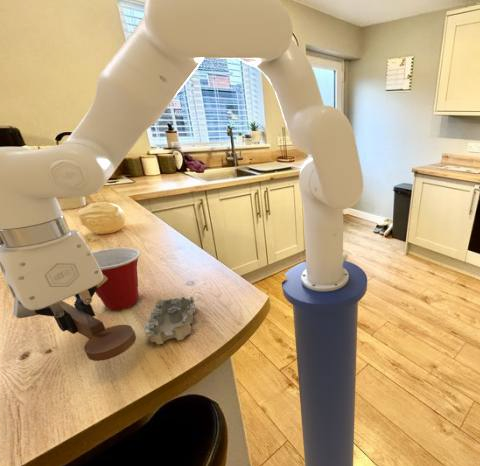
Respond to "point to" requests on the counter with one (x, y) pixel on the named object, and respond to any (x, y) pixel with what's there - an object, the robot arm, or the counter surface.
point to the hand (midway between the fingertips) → (80, 325)
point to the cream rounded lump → (102, 217)
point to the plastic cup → (118, 277)
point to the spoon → (101, 335)
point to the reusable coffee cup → (71, 202)
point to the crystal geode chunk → (170, 320)
